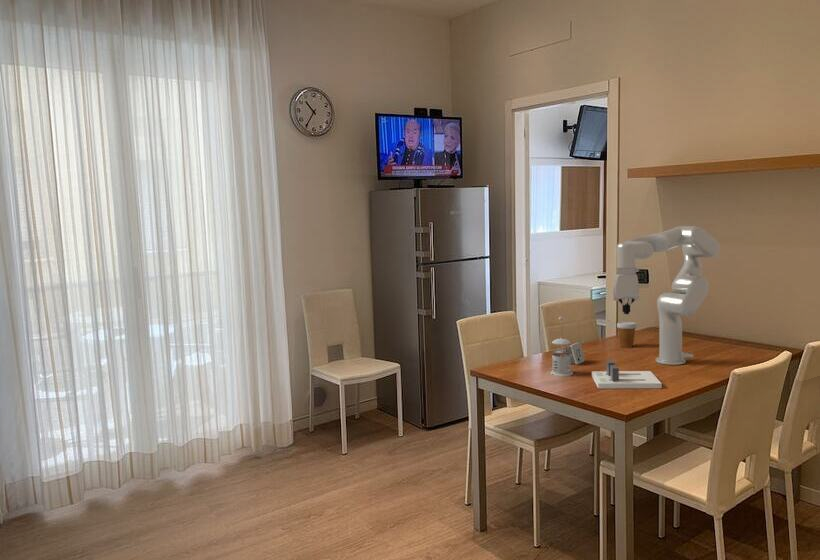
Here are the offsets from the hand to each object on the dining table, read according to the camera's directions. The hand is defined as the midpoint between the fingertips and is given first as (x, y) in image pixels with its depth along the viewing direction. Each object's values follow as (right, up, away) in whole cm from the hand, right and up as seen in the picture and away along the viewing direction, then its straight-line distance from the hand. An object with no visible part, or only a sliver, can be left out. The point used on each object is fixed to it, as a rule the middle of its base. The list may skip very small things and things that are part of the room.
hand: (626, 313), depth 275 cm
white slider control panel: (-6, -27, -15) cm, 31 cm away
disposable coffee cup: (+17, -19, +50) cm, 56 cm away
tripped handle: (-11, -25, -19) cm, 34 cm away
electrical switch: (-17, -24, +20) cm, 36 cm away
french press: (-27, -26, +4) cm, 38 cm away
